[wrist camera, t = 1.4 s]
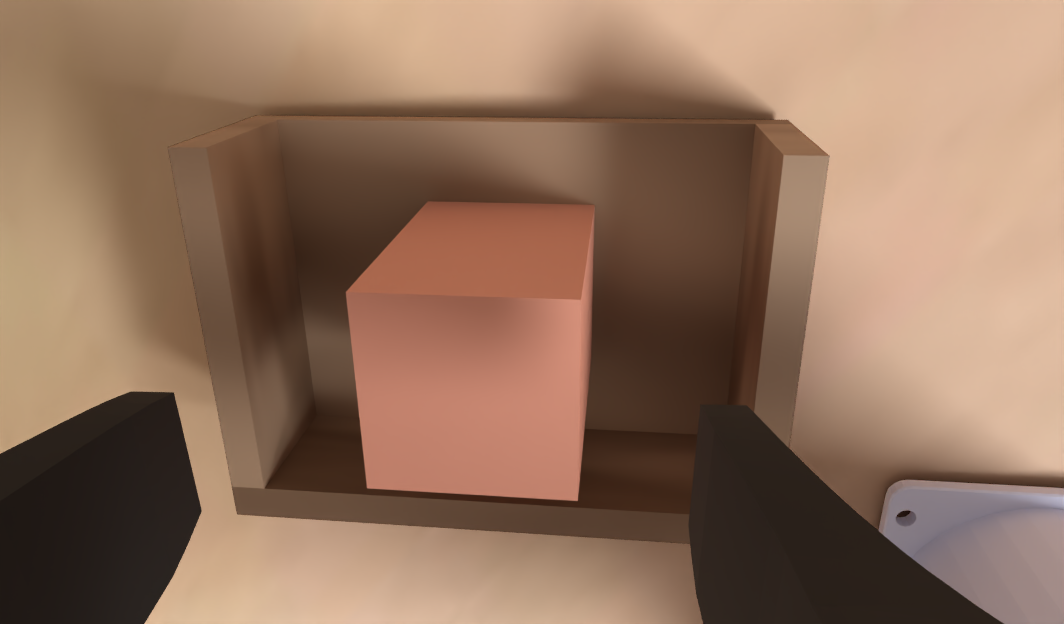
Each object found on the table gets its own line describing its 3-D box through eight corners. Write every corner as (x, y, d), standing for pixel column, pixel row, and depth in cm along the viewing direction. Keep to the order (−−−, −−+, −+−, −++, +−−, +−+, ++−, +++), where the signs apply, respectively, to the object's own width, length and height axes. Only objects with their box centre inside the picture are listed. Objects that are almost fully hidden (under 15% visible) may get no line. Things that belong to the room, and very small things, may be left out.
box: (749, 451, 21) (774, 549, 18) (300, 427, 22) (237, 514, 19) (787, 119, 18) (829, 155, 14) (255, 115, 19) (167, 147, 15)
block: (591, 357, 20) (577, 500, 14) (437, 351, 20) (367, 487, 15) (594, 205, 18) (581, 299, 13) (427, 201, 19) (345, 292, 13)
